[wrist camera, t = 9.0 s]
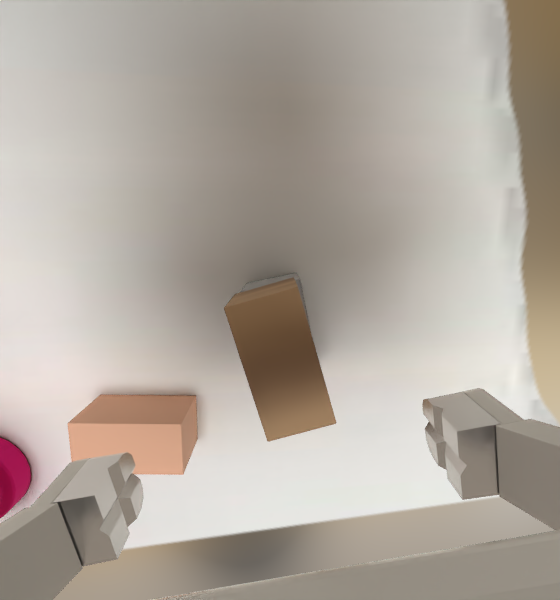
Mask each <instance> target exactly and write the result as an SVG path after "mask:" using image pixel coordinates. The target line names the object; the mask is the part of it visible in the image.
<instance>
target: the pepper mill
mask: <svg viewBox="0 0 560 600" xmlns="http://www.w3.org/2000/svg"><path fill="white" fill-rule="evenodd" d="M30 480H31V473H30V466H29V464H28V462H27V460H26V457H25V456H24V455H23V453H22V452H21V451H20V450H19V449H18V448H17V447H16V446H14V445H13V444H12V443H10V442H9V441H7V440H5V439H2V438H0V518H1V517H3V516H4V515H5V514H6V513H7V512H8V511H9V510H10V509H11V508H12V507H13V506H14V505H15V504H16V503H17V502H18V501H19V500H20V499H21V498H22V497H23V496H24V495H25V493H26V492H27V490H28V488H29V485H30Z"/></svg>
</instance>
